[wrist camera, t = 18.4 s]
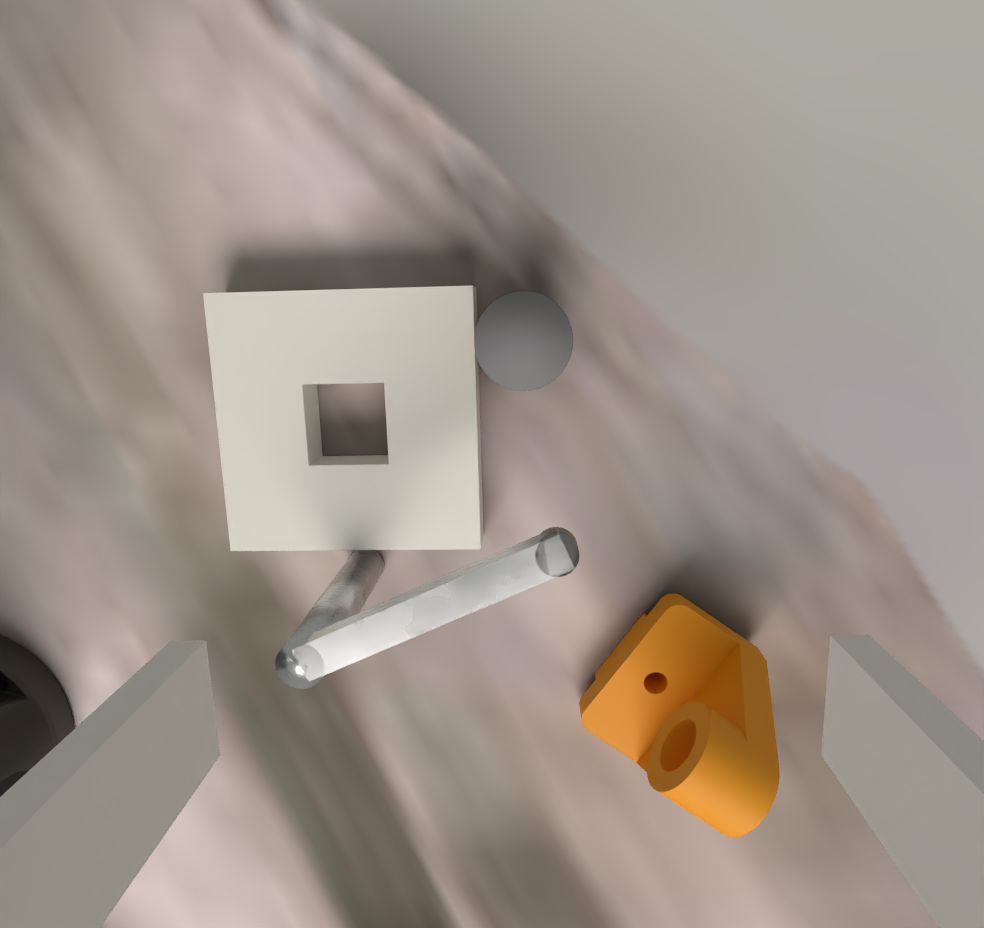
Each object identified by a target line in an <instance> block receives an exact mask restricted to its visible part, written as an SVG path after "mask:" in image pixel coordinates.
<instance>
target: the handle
mask: <svg viewBox="0 0 984 928" xmlns="http://www.w3.org/2000/svg"><path fill="white" fill-rule="evenodd" d="M578 561H579V551H578V546H577V542H576V539H575V537H574V536H573V535H572V533H570V532H569V531H568V530H566V529H564V528H559V527H553V528H549V529H546V530H545V531H543V532H542V533H541V534H540V535H538V536H535V537H533V538H531V539H528V540H526V541H524V542H521V543H519V544H517V545H515V546H512V547H510V548H508V549H505V550H503V551H501V552H498V553H496V554H494V555H492V556H489V557H487V558H485V559H482V560H480V561H478V562H475V563H473V564H471V565H468V566H466V567H464V568H462V569H459V570H457V571H455V572H452V573H450V574H448V575H445V576H443V577H441V578H438V579H436V580H434V581H432V582H429V583H427V584H425V585H422V586H420V587H418V588H415V589H413V590H411V591H408V592H406V593H404V594H402V595H399V596H397V597H395V598H392V599H390V600H388V601H385V602H383V603H381V604H378V605H376V606H374V607H372V608H369V609H367V610H365V611H362V612H360V611H361V609H362V607H363V606H364V604H365V602H366V600H367V599H368V597H369V595H370V593H371V592H372V590H373V588H374V586H375V585H376V583H377V581H378V579H379V578H380V576H381V574H382V572H383V570H384V561H383V559H382V557H381V555H380V554H379V553H378V552H377V551H375V550H356V551H355V552H354V553H353V554H352V555H351V557H350V558H349V559H348V561H347V562H346V563H345V565H344V566H343V567H342V569H341V570H340V571H339V573H338V574H337V575H336V577H335V578H334V579H333V581H332V582H331V583H330V585H329V586H328V587H327V589H326V590H325V591H324V593H323V594H322V595H321V597H320V598H319V599H318V601H317V602H316V603H315V605H314V606H313V607H312V609H311V610H310V611H309V613H308V614H307V615H306V617H305V618H304V619H303V621H302V622H301V623H300V625H299V626H298V627H297V629H296V630H295V631H294V633H293V634H292V636H291V637H290V638H289V640H288V641H287V642H286V644H285V645H284V646H283V648H282V649H281V650H280V652H279V653H278V655H277V657H276V662H275V666H276V671H277V673H278V675H279V677H280V678H281V679H282V681H284V682H285V683H286V684H287V685H289V686H291V687H294V688H298V689H306V688H310V687H313V686H314V685H316V684H317V683H318V682H319V681H320V680H321V679H322V677H323V675H326V674H328V673H331V672H333V671H335V670H338V669H340V668H342V667H345V666H347V665H349V664H352V663H354V662H357V661H359V660H361V659H364V658H366V657H368V656H371V655H373V654H375V653H378V652H380V651H383V650H385V649H387V648H390V647H392V646H394V645H397V644H399V643H401V642H404V641H406V640H409V639H411V638H413V637H416V636H418V635H420V634H423V633H425V632H428V631H430V630H432V629H435V628H437V627H439V626H442V625H444V624H446V623H449V622H451V621H454V620H456V619H458V618H461V617H463V616H465V615H468V614H470V613H472V612H475V611H477V610H480V609H482V608H484V607H487V606H489V605H491V604H494V603H496V602H498V601H501V600H503V599H506V598H508V597H510V596H513V595H515V594H517V593H520V592H522V591H524V590H527V589H529V588H532V587H534V586H536V585H539V584H541V583H543V582H546V581H548V580H550V579H553V578H555V577H561V576H565V575H567V574H569V573H571V572H572V571H573V570H574V569H575V568H576V566H577V564H578Z"/></svg>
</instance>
